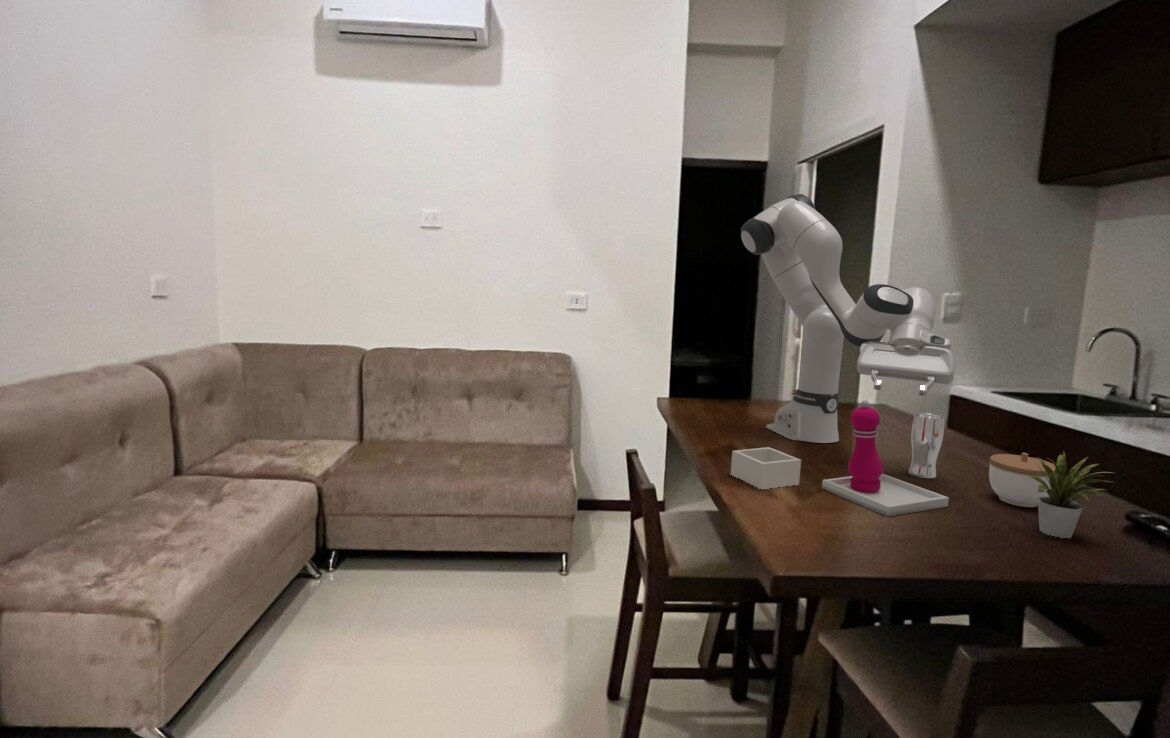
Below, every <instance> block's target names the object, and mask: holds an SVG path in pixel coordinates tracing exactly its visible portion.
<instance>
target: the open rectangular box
mask: <svg viewBox="0 0 1170 738" xmlns="http://www.w3.org/2000/svg"><path fill="white" fill-rule="evenodd" d="M801 467H802V459H800V458H798V457H795V456H793V455H789V454H787V453H785V452H783V451H780V450H778V449H775V448H772V447H770V446H768V447H759V448H757V447H756V448H749V449H748V448H747V449H738V450H732V453H731V465H730V476H731V475H732V476H731V477H733V476H734V478H735V477H736V478H735V479H737V478H739V479H741V480H743V481H745V482H744V483H746V482H747V483H746V484H748V483H749V484H748V485H750V484H751V485H750V486H752V485H753V486H752V487H754V486H755V487H754V488H756V487H757V488H756V489H758V490H760V489H762V490H761V491H763V489H765V490H770V488H772V489H778V487H780V488H785V487H786V486H788V487H794V486H793V485H795V486H799V485H800V479H801V477H800V475H801V469H802V468H801ZM739 479H738V480H739ZM741 480H740V481H741ZM743 481H742V482H743ZM786 488H787V487H786Z"/></svg>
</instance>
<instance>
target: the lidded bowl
mask: <svg viewBox="0 0 1170 738" xmlns="http://www.w3.org/2000/svg"><path fill="white" fill-rule="evenodd" d="M1042 460H1043V459H1042ZM1043 461H1044V462H1045V464H1046V465H1048V466H1049V467H1050V468H1051V469H1052V471H1053V473H1054V472H1055V465H1054V464H1053V462H1052V463H1051V462H1050V461H1046V460H1045V459H1044V460H1043ZM1034 462H1035V463H1036V464H1037V465H1038V466H1039V467H1040V468H1041V469H1040V468H1039V467H1038V466H1037V465H1036V464H1035V463H1034ZM1040 463H1041V462H1040V461H1039V459H1038V458H1037V457H1030V456H1029V453H1027V452H1021V454H1020V455H1018V454H1010V453H998V454H997V453H996V454H992V455H991V456H990V457H989V469H988V478H989V483H990V486H991V488H992V490H993V491H994V493H995V494H996V495H997V496H998V499H999V500H1000V501H1002V502H1003V501H1004V503H1006V504H1009V505H1012V506H1017V507H1024V508H1036V507H1038V498H1039V497H1043V496H1048V497H1049V495H1048V493H1047V492H1038V488H1039V485H1042V484H1041V483H1040V482H1038V481H1037V480H1035V479H1033V478H1031V477H1028V476H1027V475H1035V476H1037V477H1039V478H1041V479H1042V480H1043V481H1044V482H1045V483H1046V484H1047V485H1048V487H1049V488H1050V489H1051V487H1050V485H1051V484H1050V485H1049V482H1050V481H1049V482H1048V480H1049V478H1048V475H1047V473H1046V471H1045V469H1044V468H1043V466H1042V464H1040ZM1041 470H1042V471H1043V472H1044V473H1045V475H1046V476H1047V478H1048V480H1047V478H1046V476H1045V475H1044V474H1043V472H1042V471H1041ZM1042 486H1043V485H1042ZM1039 490H1040V489H1039ZM1041 490H1044V491H1047V490H1046V489H1041ZM1037 492H1038V493H1037Z"/></svg>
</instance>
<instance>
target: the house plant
mask: <svg viewBox="0 0 1170 738" xmlns="http://www.w3.org/2000/svg"><path fill="white" fill-rule="evenodd" d="M1036 459H1039V461H1040V462H1041V463H1040V464H1042V466H1043V468H1044V469H1045V471H1046V473H1047V475H1048V478H1049V480H1048V478H1047V476H1046V475H1045V473H1044V472H1043V471H1042V470H1041V471H1042V472H1043V474H1044V475H1045V476H1046V478H1047V480H1048V482H1049V481H1050V482H1049V485H1050V484H1051V485H1050V487H1051V489H1050V488H1049V487H1048V485H1047V484H1046V483H1045V482H1044V481H1043V480H1042V479H1041V478H1039V477H1037V476H1035V475H1027V476H1028V477H1031V478H1033V479H1035V480H1037V481H1038V482H1040V483H1041V484H1042V485H1043V486H1042V485H1039V488H1038V492H1047V493H1048V495H1049V497H1048V496H1043V497H1039V498H1038V506H1037V509H1038V524H1039V525H1038V526H1039V532H1040V531H1041V532H1040V533H1042V532H1043V533H1042V534H1044V533H1045V534H1044V535H1046V534H1047V535H1046V536H1049V535H1051V536H1050V537H1052V536H1055V537H1054V538H1056V537H1060V538H1059V539H1063V538H1068V539H1071V538H1072V537H1073V535H1074V531H1075V530H1076V526H1077V523H1078V521H1079V519H1080V516H1081V513H1082V511H1083V508H1084V507H1083V505H1082V504H1080V503H1077V502H1075V500H1077V499H1079V498H1081V497H1084V498H1085V499H1086V501H1087V503H1088V504H1089V499H1090V497H1089V495H1098V496H1101V497H1102V498H1104V497H1103V494H1102V492H1101V491H1105V489H1104V488H1096V489H1095V488H1093V487H1089V486H1084V487H1083V486H1082V487H1079V486H1081V485H1084V484H1085V485H1086V484H1090V483H1091V484H1092V483H1113V481H1111V480H1105V479H1094V477H1095V478H1096V477H1104V475H1103V474H1115V472H1110V471H1099V472H1098V471H1097V472H1093V473H1092V472H1091V473H1090V471H1091V470H1092V468H1095V467H1096V466H1098V465H1099V463H1093V464H1090V465H1087V466H1086V467H1083V468H1081V467H1082V465H1083V464H1084V463H1085V462H1086V461H1087V459H1088V456H1087V457H1084V458H1083V459H1080V461H1079V462H1077V463H1075V465H1074V466H1072V467H1071V469H1070V470H1069V471H1068V472H1067V464H1068V463H1067V461H1066V452H1065V450H1063V452H1062V454H1059V455H1058V457H1057V459H1056V462H1055V461H1054V460H1053V459H1050V458H1048V457H1046V459H1047V460H1050V461H1051V462H1052V464H1054V465H1055V472H1054V473H1053V471H1052V469H1051V468H1050V467H1049V466H1048V465H1046V464H1045V462H1044V461H1045V460H1044V461H1043V459H1042V458H1041V457H1038V456H1036ZM1034 463H1035V462H1034ZM1035 464H1036V463H1035ZM1036 465H1037V464H1036ZM1037 466H1038V465H1037ZM1038 467H1039V466H1038ZM1039 468H1040V467H1039ZM1080 468H1081V470H1079V469H1080ZM1040 469H1041V468H1040ZM1102 473H1103V474H1102ZM1086 477H1087V478H1086ZM1084 478H1085V479H1084ZM1039 489H1040V490H1039ZM1041 489H1046V490H1047V491H1044V490H1041ZM1084 490H1085V491H1084ZM1107 491H1109V490H1107ZM1038 492H1037V493H1038Z"/></svg>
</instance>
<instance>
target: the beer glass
mask: <svg viewBox="0 0 1170 738" xmlns="http://www.w3.org/2000/svg"><path fill="white" fill-rule="evenodd" d="M911 426H912V427H911V433H910V436H911V439H910V441H911V442H910V443H911V463H910V466H909V469H908V474H910V475H911V476H914V477H917V478H921V479H935V478H936V477H937V469H936V465H937V459H938V455H939V453H940V449H941V446H942V444H943V440H944V434H945V433H944V432H945V417H944V416H943V415H939V414H934V413H928V412H916V413H914V416H913V421H912V425H911Z"/></svg>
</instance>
